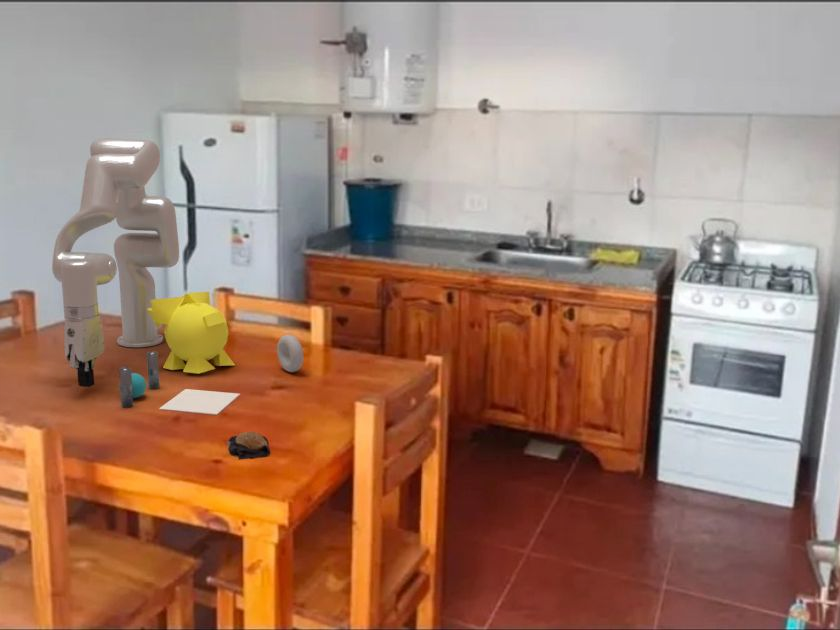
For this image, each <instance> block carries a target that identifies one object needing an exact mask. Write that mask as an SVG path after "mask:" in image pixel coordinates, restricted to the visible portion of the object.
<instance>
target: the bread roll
mask: <svg viewBox="0 0 840 630" xmlns="http://www.w3.org/2000/svg"><path fill="white" fill-rule="evenodd" d="M268 441H269V440H268V439H267V437H265V436H263V435H261V434H260V433H258V432H257V431H246V432H241V433H239V434H238V435H234V436H231V437H230V438H229V439H228V440H227V441H226V443H227V448H228V452H229V453H230V454H231V455H232V456H233V457H235V458H238V460H241V461H242V460H246V459H249V460H250V459H261V458H265V457H268V456H270V455H271V454H272V453H271V449H270V447H269V442H268Z"/></svg>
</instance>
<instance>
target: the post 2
mask: <svg viewBox="0 0 840 630" xmlns="http://www.w3.org/2000/svg"><path fill="white" fill-rule="evenodd" d="M146 364H147V365H146V367H147V382H148V383H147V384H148V389H149V390H158V389H159V388H160V386H161V385H160V370H159V369H160V367H159V351H157V350H149V351H147V352H146Z"/></svg>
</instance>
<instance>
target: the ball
mask: <svg viewBox="0 0 840 630" xmlns="http://www.w3.org/2000/svg"><path fill="white" fill-rule="evenodd" d="M118 384H119V386H118V387H119V390H120V383H118ZM146 389H147V382H146V379H145V378H144V377H143V375H142V374H139V373H136V372H132V390H133V399H136V398H137V399H138V398H140V397H141V396H143V395H144V393H145V392H146ZM120 392H121V390H120Z"/></svg>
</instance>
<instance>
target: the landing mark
mask: <svg viewBox="0 0 840 630" xmlns="http://www.w3.org/2000/svg"><path fill="white" fill-rule="evenodd" d="M240 395H241V393H236V392H226V391H225V392H223V391H212V390H211V391H210V390H202V389H201V390H200V389H189V388H185V389H183V390H182V391H181V392H179V393H177V394H176V395H175V396H174V397H173V398H172V399H169V401H167V402H166V403H165V404H163V405H162V406H160V407H159V408H158V410H161V411H163V410H164V411H170V412H171V411H172V412H183V413H192V414H193V413H194V414H202V415H203V414H205V415H214V416H215V415H216V416H217V415H218V414H220V413H221V412H222V411H223V410H224V409H226V408H227V407H228V406H229V405H230V404H231V403H232V402H233V401H235V400H236V399H237V398H238V397H239V396H240Z"/></svg>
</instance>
